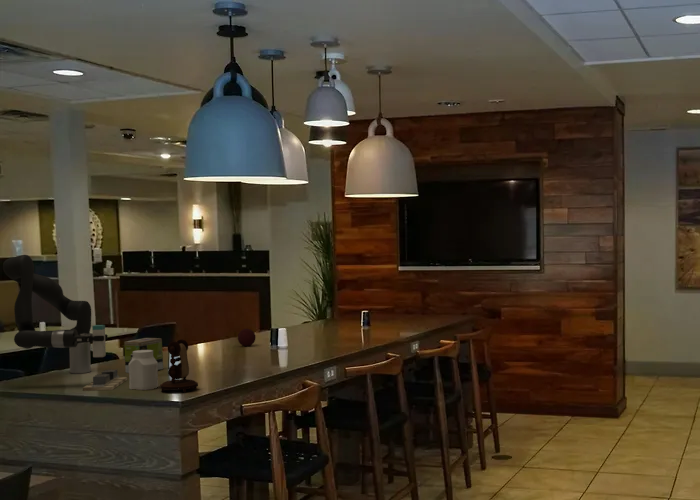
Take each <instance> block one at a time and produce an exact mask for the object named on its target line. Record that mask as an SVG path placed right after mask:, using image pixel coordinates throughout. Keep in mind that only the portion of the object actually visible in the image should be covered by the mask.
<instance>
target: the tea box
mask: <svg viewBox="0 0 700 500" xmlns="http://www.w3.org/2000/svg"><path fill="white" fill-rule="evenodd" d="M123 343H124V367H125V373H126V374H129V362H130V359H131V354H133V353H132V352H133V351H137V350H153V357H154V358H155V359H156V361H157V362H158V365H157V368H158V371H159V370H163V369H164V356H163V355H164V354H163V339H162V337H161V338H160V337H158V338H157V337H143V338H138V339H131V340H128V341H127V340H126V341H123Z"/></svg>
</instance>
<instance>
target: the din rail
mask: <svg viewBox="0 0 700 500" xmlns="http://www.w3.org/2000/svg"><path fill="white" fill-rule="evenodd" d="M119 377H120V375H119V374H118V369H117V368H116V369H105V370H103V371H102V372H101V373H100V374H99V373H98V374H96V375H94V376H93V377H92V382H93V385H92V387H105V386H106V385H108V384H109V383H111V382H113V381H114V380H116V379H117V378H119Z"/></svg>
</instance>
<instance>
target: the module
mask: <svg viewBox="0 0 700 500" xmlns="http://www.w3.org/2000/svg"><path fill="white" fill-rule="evenodd" d="M91 328H92V331H91V332H92V334H93V335H94V336H104V341H95V342H92V357H93V358H104V357H106V351H107V350H106V349H107V348H106V340H105V334H106V324H95V325H91Z"/></svg>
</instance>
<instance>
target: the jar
mask: <svg viewBox="0 0 700 500" xmlns="http://www.w3.org/2000/svg"><path fill="white" fill-rule="evenodd" d="M132 353H133V357H132V359H131V361H130V362H129V373H128V376H129V377H128V379H129V383H128V385H129V386H128V388H129V390H132V389H136V390H135V391H137V390H139V391H148V390H149V391H150V390H154V388H155V389H158V388H159V378H158V377H159V376H158V375H159V373H158V372H159V370H158V368H157V365H158V362H157V361H156V359H155V358H154V357H153V350H137V351H133V352H132ZM157 387H158V388H157Z"/></svg>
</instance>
